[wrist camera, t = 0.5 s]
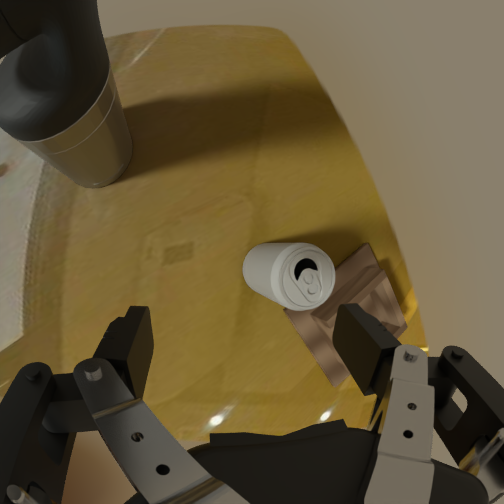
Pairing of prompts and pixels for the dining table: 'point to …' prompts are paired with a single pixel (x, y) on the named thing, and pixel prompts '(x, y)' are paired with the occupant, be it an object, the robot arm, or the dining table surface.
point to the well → (344, 292)
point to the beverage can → (290, 274)
